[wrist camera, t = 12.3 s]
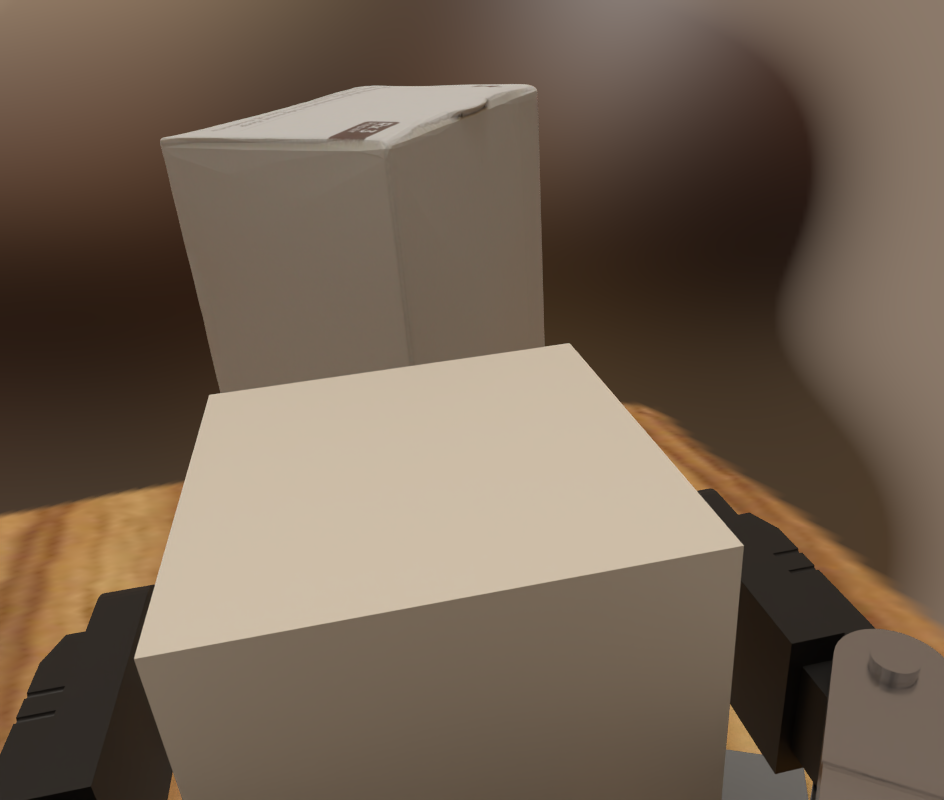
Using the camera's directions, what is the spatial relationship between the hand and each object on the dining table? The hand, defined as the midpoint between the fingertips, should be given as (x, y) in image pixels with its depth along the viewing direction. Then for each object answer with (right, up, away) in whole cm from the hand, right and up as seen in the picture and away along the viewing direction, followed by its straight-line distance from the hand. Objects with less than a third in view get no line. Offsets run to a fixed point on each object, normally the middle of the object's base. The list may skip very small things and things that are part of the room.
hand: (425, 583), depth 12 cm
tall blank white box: (+1, -8, +2) cm, 8 cm away
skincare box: (-1, -3, +13) cm, 13 cm away
